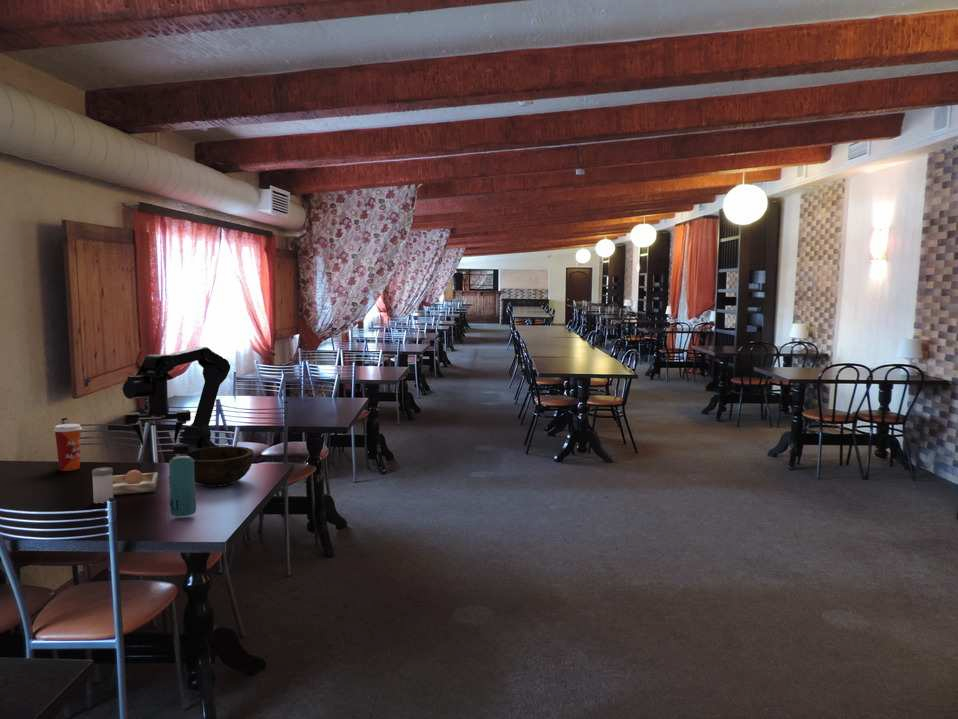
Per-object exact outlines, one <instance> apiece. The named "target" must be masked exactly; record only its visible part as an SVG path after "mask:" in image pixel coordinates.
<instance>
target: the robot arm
mask: <svg viewBox="0 0 958 719" xmlns="http://www.w3.org/2000/svg"><path fill="white" fill-rule="evenodd" d="M196 361H197V363H198V365H199V366H200V367H201V368H202V377H203V380H204V384H203V387H202V390H201V394H200V398H199V401H198V405H197V409H196V412H195V415H194V419H193V422H192V423H191V424H190V425H186V424H187V422H190V421H191V419H192V418H191V416H192V415H191V414H192V413H191V411H190V410H189V409H181V410H178V409H177V411H176V412H172V413H170V411H169V409H170V408H169V403H168V402H169V401H168V400H169V399H168V397H169V396H168V380H173V378H174V377H173V376H172V375H171V374H170V373H169V372H171V371H173V370H174V369H175V368H176V367H178V366H182V365H187V364H191V363H193V362H196ZM230 370H231V364H230V362H229V361H228V359H226V358H224V357H223V356H221V355H219V354H218V353H216V352H215V351H212V349H210V348H209V347H207V346H196V347H194V348H190V349H187V350H181V351H178V352H174V353H173V352H172V353H170V354H148V355H146V356H145V357H144V359H143V362H142V364H141V366H140V367H139V368H138V370H137V373H136V374H135V375H128V376H127V380H125V381H124V384H123V386H122V393H123V395H124V397H125V398H127V399H129V400H133V399H139V398H140V399H141V398H147V400H144V404H143V405H144V406H143V409H144V412H147V414H141V412H140V411H139V412H138V411H136V412H134V411H133V412H127V413H126V414H125V415H124V418H123V422H124V423H123V424H124V425H128V426H129V427H130V428H133V430H134V431H135V433H136V435H137V438H139V441H140V443H141V445H142V446H144V445H145V443H144V442H145V439H144V434H143V426H142V421H143V422H144V421H161V420H176V422H175V427H174V428H175V429H174V437H173V444H176V443H177V440H178V438H179V434H180V433H179V432H180V431H181V428H182V427H183V425H185V427H184V429H183V430H184V431H183V433H182V436H181V438H182V442H181V444H188V445H189V450H194V449H200V448H207V447H218V446H217V445H216V444H214V442H212V440H211V437H212V432H211V429H210V421H211V418H212V415H213V411H214V408H215V404H216V400H217V396H218V393H219V389H220V386H221V384H222V383H223V382H225V380H226V379H227V377H228V375H229V373H230Z"/></svg>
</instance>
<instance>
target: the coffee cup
mask: <svg viewBox="0 0 958 719" xmlns="http://www.w3.org/2000/svg"><path fill="white" fill-rule="evenodd" d="M82 429H83V428H82V426H81V424H80V423H66V424H65V423H63V424H57V425H55V427H54V430H53V432H54V434H55V443H56V453H57V461H58V462H57V463H58V469H59V471H61V472H62V471H63V472H71V471H75V470H79V469H80V466H81V440H82V439H81V438H82V437H81V436H82V435H81V434H82V433H81V432H82V431H81V430H82Z"/></svg>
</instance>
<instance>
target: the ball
mask: <svg viewBox="0 0 958 719" xmlns="http://www.w3.org/2000/svg"><path fill="white" fill-rule="evenodd" d="M142 474H143V473H142V472H141V471H140V470H137V469H132V470H129V471H128V472H126V474H125V475H126V476H125V480H126V482H127V484H139V483H140V482H141V481H142V478H143V476H142Z"/></svg>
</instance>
